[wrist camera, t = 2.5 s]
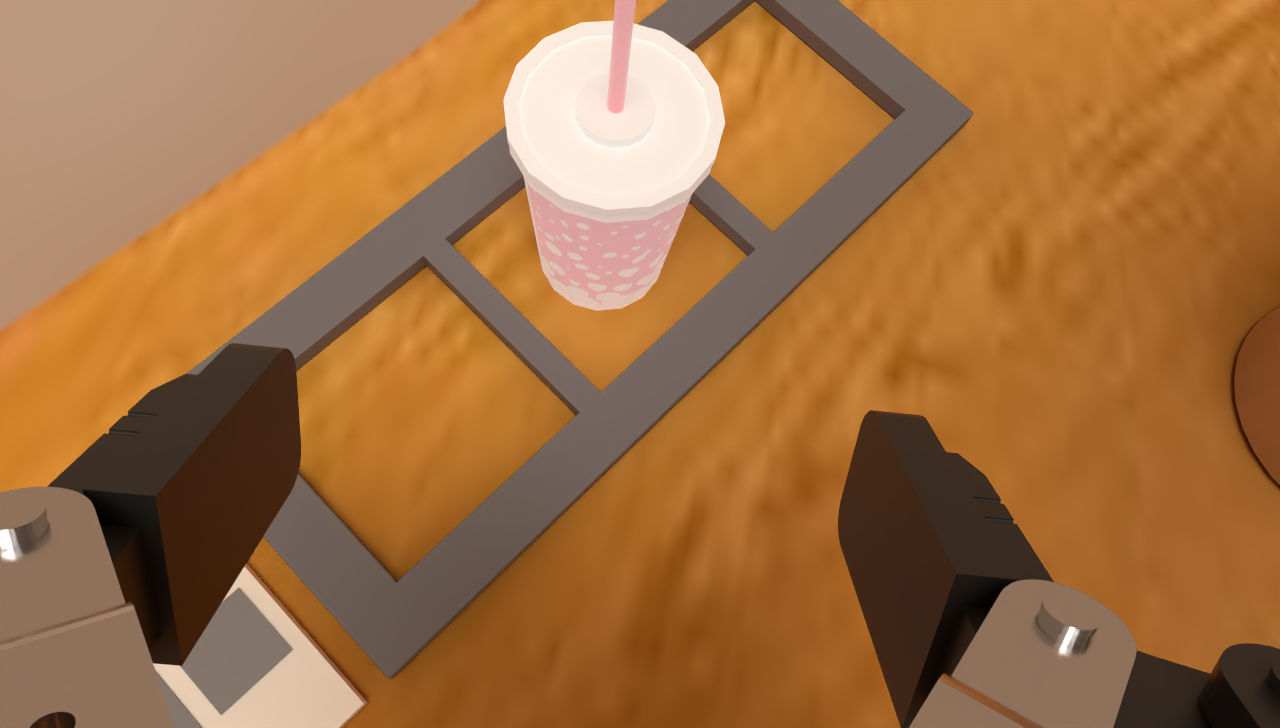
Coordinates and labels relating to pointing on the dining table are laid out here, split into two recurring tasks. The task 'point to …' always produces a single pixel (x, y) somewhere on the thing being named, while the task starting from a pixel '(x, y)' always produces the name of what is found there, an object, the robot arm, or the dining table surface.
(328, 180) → the dining table surface
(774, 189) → the dining table surface
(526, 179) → the beverage cup
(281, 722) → the card
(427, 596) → the grey flat frame
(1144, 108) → the dining table surface
